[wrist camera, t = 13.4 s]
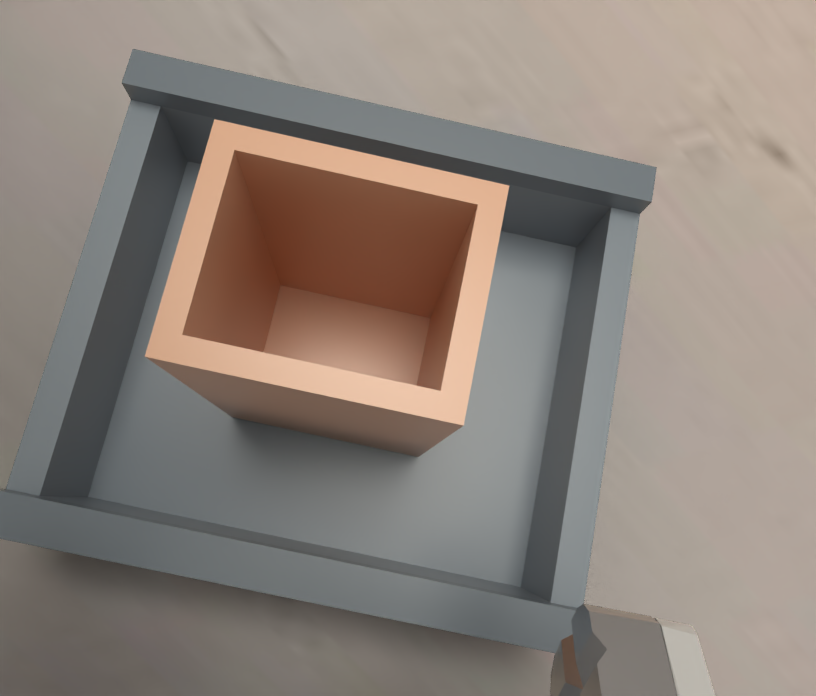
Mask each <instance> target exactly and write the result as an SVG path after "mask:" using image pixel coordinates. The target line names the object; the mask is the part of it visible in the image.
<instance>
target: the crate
mask: <svg viewBox="0 0 816 696" xmlns="http://www.w3.org/2000/svg"><path fill="white" fill-rule="evenodd" d="M122 84H123V86H124V88H125V89H126V91H127V93H128V95H129V97H130V98H131V102H130V105H129V108H128V111H127V114H126V117H125V120H124V123H123V126H122V130H121V133H120V136H119V139H118V142H117V145H116V148H115V151H114V154H113V157H112V161H111V164H110V167H109V170H108V173H107V176H106V179H105V182H104V185H103V189H102V192H101V195H100V198H99V201H98V204H97V207H96V210H95V213H94V216H93V220H92V223H91V226H90V229H89V232H88V235H87V238H86V241H85V244H84V248H83V251H82V254H81V257H80V260H79V263H78V266H77V269H76V272H75V276H74V279H73V282H72V285H71V288H70V291H69V294H68V297H67V300H66V303H65V307H64V310H63V313H62V316H61V319H60V322H59V325H58V328H57V331H56V335H55V338H54V341H53V344H52V347H51V350H50V353H49V356H48V359H47V362H46V366H45V369H44V372H43V375H42V378H41V381H40V384H39V387H38V390H37V394H36V397H35V400H34V403H33V406H32V409H31V412H30V415H29V418H28V422H27V425H26V428H25V431H24V434H23V437H22V440H21V443H20V446H19V449H18V453H17V456H16V459H15V462H14V465H13V468H12V471H11V474H10V477H9V481H8V484H7V487H6V489H0V539H4V540H9V541H14V542H19V543H24V544H28V545H33V546H38V547H43V548H48V549H53V550H58V551H62V552H67V553H72V554H77V555H82V556H87V557H91V558H96V559H101V560H106V561H111V562H116V563H121V564H125V565H130V566H135V567H140V568H145V569H150V570H154V571H159V572H164V573H169V574H174V575H179V576H183V577H188V578H193V579H198V580H203V581H208V582H213V583H217V584H222V585H227V586H232V587H237V588H242V589H246V590H251V591H256V592H261V593H266V594H271V595H276V596H280V597H285V598H290V599H295V600H300V601H305V602H309V603H314V604H319V605H324V606H329V607H334V608H339V609H343V610H348V611H353V612H358V613H363V614H368V615H372V616H377V617H382V618H387V619H392V620H397V621H402V622H406V623H411V624H416V625H421V626H426V627H431V628H435V629H440V630H445V631H450V632H455V633H460V634H464V635H469V636H474V637H479V638H484V639H489V640H494V641H498V642H503V643H508V644H513V645H518V646H523V647H527V648H532V649H537V650H542V651H547V652H552V653H556V651H557V649H558V646H559V644H560V642H561V640H562V639H564V638H566V637H568V636H570V635H572V634H573V632H572V623H571V619H572V617H573V615H574V613H575V611H576V609H577V608H578V607H579V606H581V605H582V604H584V598H585V591H586V584H587V577H588V570H589V563H590V556H591V549H592V542H593V535H594V528H595V522H596V515H597V508H598V501H599V494H600V487H601V480H602V473H603V466H604V459H605V452H606V445H607V438H608V431H609V425H610V418H611V411H612V404H613V397H614V390H615V383H616V376H617V369H618V362H619V355H620V348H621V341H622V335H623V328H624V321H625V314H626V307H627V300H628V293H629V286H630V279H631V272H632V265H633V258H634V251H635V244H636V238H637V231H638V224H639V217H640V213H641V212H642V211H643V210H644V209H645V208H646V207H647V206H648V205H649V204H650V203H651V202H652V196H653V189H654V182H655V175H656V168H657V167H653V166H649V165H644V164H640V163H635V162H631V161H626V160H622V159H618V158H613V157H609V156H604V155H600V154H596V153H591V152H587V151H582V150H578V149H573V148H569V147H565V146H560V145H556V144H551V143H547V142H542V141H538V140H534V139H529V138H525V137H520V136H516V135H512V134H507V133H503V132H498V131H494V130H489V129H485V128H481V127H476V126H472V125H467V124H463V123H458V122H454V121H450V120H445V119H441V118H436V117H432V116H428V115H423V114H419V113H414V112H410V111H405V110H401V109H397V108H392V107H388V106H383V105H379V104H374V103H370V102H366V101H361V100H357V99H352V98H348V97H344V96H339V95H335V94H330V93H326V92H321V91H317V90H313V89H308V88H304V87H299V86H295V85H290V84H286V83H282V82H277V81H273V80H268V79H264V78H260V77H255V76H251V75H246V74H242V73H237V72H233V71H229V70H224V69H220V68H215V67H211V66H206V65H202V64H198V63H193V62H189V61H184V60H180V59H176V58H171V57H167V56H162V55H158V54H153V53H149V52H145V51H140V50H136V49H133V50H132V53H131V56H130V59H129V62H128V65H127V68H126V71H125V74H124V77H123V80H122ZM214 119H216V120H221V121H225V122H229V123H234V124H238V125H243V126H247V127H252V128H256V129H261V130H265V131H269V132H274V133H278V134H283V135H287V136H292V137H296V138H300V139H305V140H309V141H314V142H318V143H323V144H327V145H331V146H336V147H340V148H345V149H349V150H354V151H358V152H362V153H367V154H371V155H376V156H380V157H385V158H389V159H393V160H398V161H402V162H407V163H411V164H416V165H420V166H424V167H429V168H433V169H438V170H442V171H447V172H451V173H455V174H460V175H464V176H469V177H473V178H478V179H482V180H487V181H491V182H495V183H500V184H504V185H509V190H508V195H507V201H506V206H505V211H504V216H503V222H502V227H501V232H500V237H499V243H498V248H497V253H496V258H495V264H494V269H493V274H492V279H491V285H490V290H489V295H488V300H487V306H486V311H485V316H484V321H483V327H482V332H481V337H480V342H479V348H478V353H477V358H476V364H475V369H474V374H473V379H472V385H471V390H470V395H469V400H468V406H467V411H466V416H465V421H464V426H462V427H461V428H459V429H458V430H457V431H455V432H454V433H452V434H451V435H449V436H448V437H446V438H445V439H444V440H442V441H441V442H439V443H438V444H436V445H435V446H434V447H432V448H431V449H429V450H428V451H426V452H425V453H423V454H422V455H421V456H419V457H415V456H411V455H406V454H401V453H397V452H392V451H387V450H383V449H378V448H373V447H369V446H364V445H359V444H355V443H350V442H345V441H341V440H336V439H331V438H327V437H322V436H317V435H313V434H308V433H303V432H299V431H294V430H290V429H285V428H280V427H276V426H271V425H266V424H262V423H257V422H252V421H248V420H243V419H238V418H234V417H231V416H230V415H228V414H227V413H225V412H224V411H223V410H221V409H220V408H218V407H217V406H215V405H214V404H212V403H211V402H210V401H208V400H207V399H205V398H204V397H202V396H201V395H199V394H198V393H197V392H195V391H194V390H192V389H191V388H189V387H188V386H186V385H185V384H184V383H182V382H181V381H179V380H178V379H176V378H175V377H173V376H172V375H171V374H169V373H168V372H166V371H165V370H163V369H162V368H160V367H159V366H158V365H156V364H155V363H153V362H152V361H150V360H149V359H147V358H146V357H145V354H146V350H147V347H148V344H149V340H150V337H151V333H152V330H153V327H154V323H155V320H156V316H157V313H158V310H159V306H160V303H161V299H162V296H163V293H164V289H165V286H166V282H167V279H168V276H169V272H170V269H171V265H172V262H173V258H174V255H175V252H176V248H177V245H178V241H179V238H180V235H181V231H182V228H183V224H184V221H185V218H186V214H187V211H188V207H189V204H190V201H191V197H192V194H193V190H194V187H195V184H196V180H197V177H198V173H199V170H200V167H201V163H202V160H203V156H204V153H205V150H206V146H207V143H208V139H209V136H210V132H211V129H212V126H213V122H214Z"/></svg>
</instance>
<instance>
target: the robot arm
mask: <svg viewBox="0 0 816 696" xmlns="http://www.w3.org/2000/svg"><path fill="white" fill-rule="evenodd" d="M571 623H572V632H573V634H572V635H570V636H568V637H566V638H564V639H562V640H561V642H560V644H559V646H558V649H557V651H556V653H555V656H554V661H553V666H552V671H551V685H550V694H551V696H716V695H715V692H714V689H713V685H712V682H711V678H710V675H709V672H708V668H707V665H706V661H705V658H704V655H703V651H702V648H701V645H700V641H699V638H698V634H697V632H696V631H695V629H694V628H693V627H692V625H689V624H684V623H679V622H674V621H669V620H664V619H659V618H652V617H651V616H647V615H641V614H636V613H631V612H625V611H620V610H614V609H609V608H604V607H598V606H593V605H588V604H582V605H581V606H579V607H578V608H577V609H576V611H575V613H574V615H573V617H572V619H571Z"/></svg>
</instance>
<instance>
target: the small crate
mask: <svg viewBox="0 0 816 696" xmlns="http://www.w3.org/2000/svg"><path fill="white" fill-rule="evenodd" d="M508 190H509V185H504V184H500V183H495V182H491V181H487V180H482V179H478V178H473V177H469V176H464V175H460V174H455V173H451V172H447V171H442V170H438V169H433V168H429V167H424V166H420V165H416V164H411V163H407V162H402V161H398V160H393V159H389V158H385V157H380V156H376V155H371V154H367V153H362V152H358V151H354V150H349V149H345V148H340V147H336V146H331V145H327V144H323V143H318V142H314V141H309V140H305V139H300V138H296V137H292V136H287V135H283V134H278V133H274V132H269V131H265V130H261V129H256V128H252V127H247V126H243V125H238V124H234V123H229V122H225V121H221V120H216V119H214V122H213V126H212V129H211V132H210V136H209V139H208V143H207V146H206V150H205V153H204V156H203V160H202V163H201V167H200V170H199V173H198V177H197V180H196V184H195V187H194V190H193V194H192V197H191V201H190V204H189V207H188V211H187V214H186V218H185V221H184V224H183V228H182V231H181V235H180V238H179V241H178V245H177V248H176V252H175V255H174V258H173V262H172V265H171V269H170V272H169V276H168V279H167V282H166V286H165V289H164V293H163V296H162V299H161V303H160V306H159V310H158V313H157V316H156V320H155V323H154V327H153V330H152V333H151V337H150V340H149V344H148V347H147V350H146V354H145V357H146V358H147V359H149V360H150V361H152V362H153V363H155V364H156V365H158V366H159V367H160V368H162V369H163V370H165V371H166V372H168V373H169V374H171V375H172V376H173V377H175V378H176V379H178V380H179V381H181V382H182V383H184V384H185V385H186V386H188V387H189V388H191V389H192V390H194V391H195V392H197V393H198V394H199V395H201V396H202V397H204V398H205V399H207V400H208V401H210V402H211V403H212V404H214V405H215V406H217V407H218V408H220V409H221V410H223V411H224V412H225V413H227V414H228V415H230V416H231V417H234V418H238V419H243V420H248V421H252V422H257V423H262V424H266V425H271V426H276V427H280V428H285V429H290V430H294V431H299V432H303V433H308V434H313V435H317V436H322V437H327V438H331V439H336V440H341V441H345V442H350V443H355V444H359V445H364V446H369V447H373V448H378V449H383V450H387V451H392V452H397V453H401V454H406V455H411V456H415V457H419V456H421V455H422V454H423V453H425V452H426V451H428V450H429V449H431V448H432V447H434V446H435V445H436V444H438V443H439V442H441V441H442V440H444V439H445V438H446V437H448V436H449V435H451V434H452V433H454V432H455V431H457V430H458V429H459V428H461V427H462V426H464V421H465V416H466V411H467V406H468V400H469V395H470V390H471V385H472V379H473V374H474V369H475V364H476V358H477V353H478V348H479V342H480V337H481V332H482V327H483V321H484V316H485V311H486V306H487V300H488V295H489V290H490V285H491V279H492V274H493V269H494V264H495V258H496V253H497V248H498V243H499V237H500V232H501V227H502V222H503V216H504V211H505V206H506V201H507V195H508Z"/></svg>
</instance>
